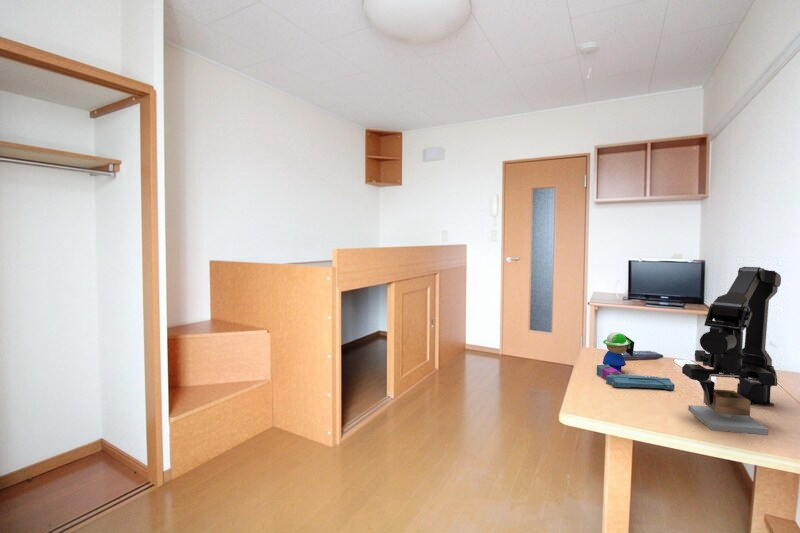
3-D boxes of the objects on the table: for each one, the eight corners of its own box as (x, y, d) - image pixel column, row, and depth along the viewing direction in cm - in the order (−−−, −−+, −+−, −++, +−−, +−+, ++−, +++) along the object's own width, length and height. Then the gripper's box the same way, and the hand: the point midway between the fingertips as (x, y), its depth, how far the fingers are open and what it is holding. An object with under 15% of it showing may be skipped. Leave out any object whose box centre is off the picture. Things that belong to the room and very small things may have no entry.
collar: (733, 404, 104) (733, 390, 104) (749, 416, 97) (750, 401, 97) (703, 402, 106) (704, 388, 105) (718, 413, 99) (718, 398, 98)
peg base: (737, 413, 106) (738, 394, 106) (767, 434, 94) (768, 413, 94) (688, 409, 109) (688, 391, 108) (711, 429, 97) (712, 409, 97)
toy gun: (653, 377, 136) (676, 394, 122) (595, 374, 140) (611, 391, 125) (654, 365, 136) (677, 382, 121) (595, 363, 139) (611, 379, 125)
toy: (635, 376, 137) (636, 335, 136) (610, 376, 137) (610, 335, 136) (621, 368, 146) (622, 329, 145) (597, 368, 146) (598, 329, 145)
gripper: (749, 341, 106) (747, 396, 107) (673, 338, 110) (672, 391, 111) (778, 353, 95) (776, 413, 96) (693, 349, 100) (691, 407, 101)
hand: (725, 405), depth 101 cm, fingers closed on collar, 7 cm apart
